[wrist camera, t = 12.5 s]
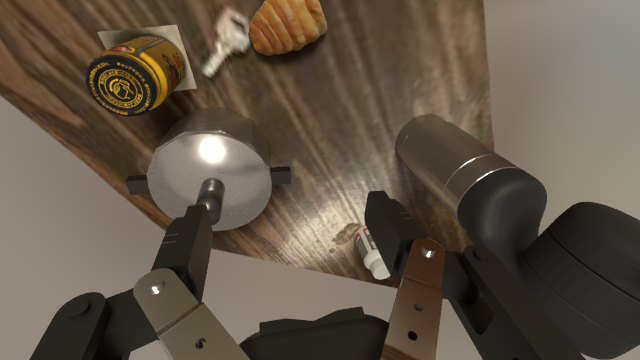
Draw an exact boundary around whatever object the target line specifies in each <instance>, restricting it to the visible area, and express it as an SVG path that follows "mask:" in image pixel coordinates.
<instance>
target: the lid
mask: <svg viewBox="0 0 640 360" xmlns="http://www.w3.org/2000/svg"><path fill="white" fill-rule="evenodd" d="M148 187H149V190H150V193H151V196H152V198H153V200H154V201H155V203H156V204H157V206H158V207H159V208H160V209H161V210H162V211H163V212H164V213H165V214H166V215H168V216H169V217H170V218H172V219H173V220H175V219H176V218H178V217H184V216H185V213H186V210H187V207H188V206H190V205H203V204H206V206H207V209H208V213H209V218H210V222H211V226H212V231H223V230H230V229H234V228H237V227H240V226H243V225H245V224H247V223H249V222H250V221H252V220H253V219H255V218H256V217H257V216H258V215H259V214H260V213H261V212H262V211H263V210H264V208H265V207H266V205H267V203H268V201H269V199H270V196H271V190H272V182H271V174H270V171H269V168H268V166H267V164H266V162H265V161H264V159H263V158H262V156H261V155H260V154H259V153H258V152H257V151H256V150H255V149H254V148H253V147H252V146H250V145H249V144H247V143H246V142H244V141H242V140H240V139H238V138H236V137H233V136H231V135H228V134H224V133H219V132H207V131H202V132H193V133H189V134H185V135H182V136H179V137H177V138H175V139H173V140H171V141H170V142H168V143H167V144H166V145H164V146H163V147H162V148H161V149H160V150H159V152H158V153H157V154H156V156H155V157H154V159H153V161H152V163H151V165H150V168H149V171H148Z"/></svg>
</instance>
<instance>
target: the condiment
mask: <svg viewBox="0 0 640 360" xmlns="http://www.w3.org/2000/svg"><path fill="white" fill-rule="evenodd" d="M98 34H99V36H100V39H101V40H102V42H103V44H104V46H105V48H106V50H105V51H103V52H102V53H101V54H100V55H99V57H98V58H95V59H94V61H93V62H91V63H90V66H88V71H87V72H86V84H87V87H88V90H89V91H90V94H91V95H92V97H93V98H94V99H95V100H96V102H97V103H98V104H99V105H101V106H102V107H104V108H105V109H106V110H108V111H110V112H111V113H115V114H118V115H122V116H138V115H141V114H144V113H145V112H147V111H149V110H151V109H154V108H156V107H157V106H159V105H160V104H161V103H162V102H163V101H164V100H165V99H166V98H167V97H168V96H169V95H170V94H171V93H172V92H173V91H181V90H189V89H197V87H196V84H195V81H194V77H193V74H192V71H191V68H190V64H189V61H188V58H187V55H186V52H185V49H184V46H183V43H182V40H181V37H180V34H179V30H178V27H177V25H170V26H159V27H147V28H136V29H126V30H114V31H104V32H98Z"/></svg>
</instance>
